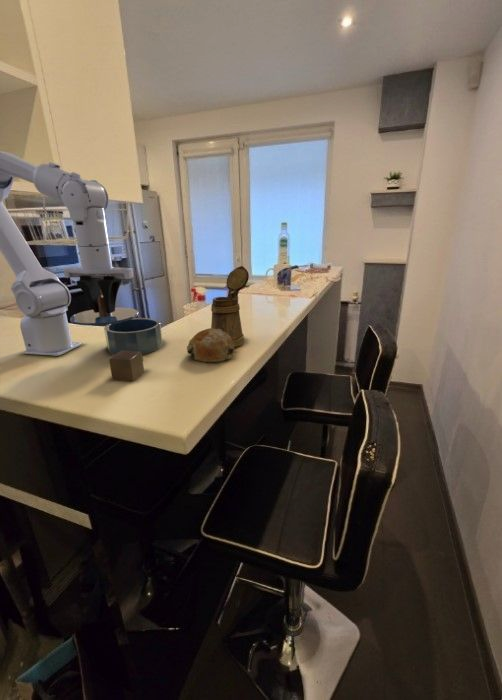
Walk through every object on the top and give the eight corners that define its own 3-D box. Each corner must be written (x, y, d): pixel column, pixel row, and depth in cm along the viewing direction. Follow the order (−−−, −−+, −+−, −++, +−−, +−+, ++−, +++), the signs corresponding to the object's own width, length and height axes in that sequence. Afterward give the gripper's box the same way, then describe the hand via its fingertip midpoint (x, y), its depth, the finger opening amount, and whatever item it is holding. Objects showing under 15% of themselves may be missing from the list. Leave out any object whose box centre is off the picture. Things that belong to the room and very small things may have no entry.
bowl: (97, 354, 76) (93, 331, 74) (125, 337, 87) (122, 317, 85) (148, 357, 74) (145, 334, 72) (170, 339, 85) (168, 319, 83)
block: (112, 379, 63) (108, 358, 61) (124, 370, 67) (121, 350, 65) (133, 381, 62) (130, 359, 61) (144, 371, 66) (141, 351, 65)
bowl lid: (55, 327, 66) (50, 302, 64) (96, 311, 79) (92, 289, 77) (118, 329, 64) (114, 304, 62) (149, 312, 76) (146, 291, 75)
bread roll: (219, 380, 70) (233, 349, 67) (177, 358, 71) (189, 326, 67) (230, 362, 79) (244, 335, 76) (193, 343, 80) (205, 315, 76)
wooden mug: (258, 334, 89) (258, 266, 82) (233, 350, 77) (231, 272, 71) (229, 330, 92) (227, 265, 86) (202, 344, 81) (197, 270, 75)
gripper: (136, 245, 68) (144, 308, 73) (74, 244, 71) (86, 306, 75) (118, 246, 62) (128, 316, 67) (50, 246, 64) (65, 314, 69)
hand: (104, 311), depth 71 cm, fingers closed on bowl lid, 2 cm apart
